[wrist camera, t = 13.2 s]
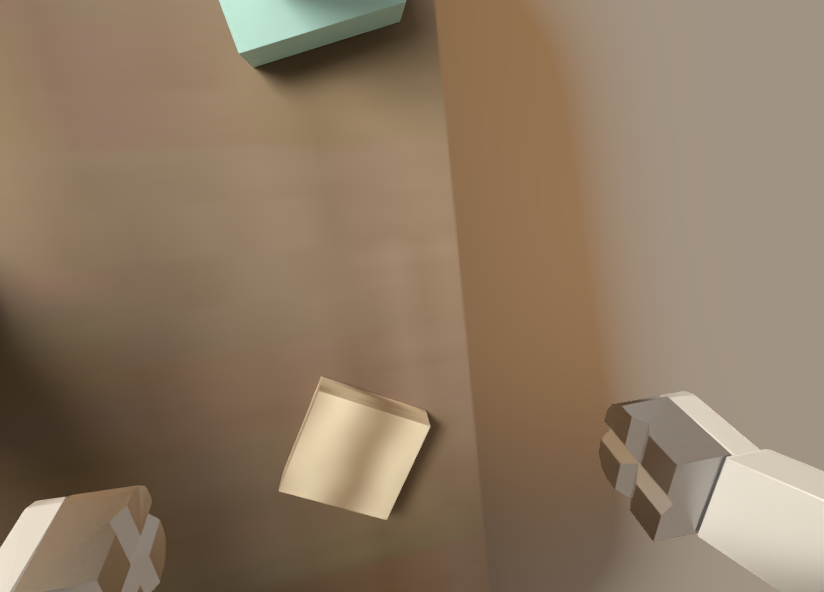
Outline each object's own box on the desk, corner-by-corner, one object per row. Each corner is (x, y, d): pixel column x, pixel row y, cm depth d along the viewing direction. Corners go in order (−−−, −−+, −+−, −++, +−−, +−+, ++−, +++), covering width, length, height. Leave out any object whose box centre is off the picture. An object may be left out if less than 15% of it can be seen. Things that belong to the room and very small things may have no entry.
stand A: (283, 470, 39) (278, 491, 36) (321, 376, 37) (318, 390, 34) (384, 499, 40) (386, 520, 38) (425, 410, 39) (430, 426, 36)
